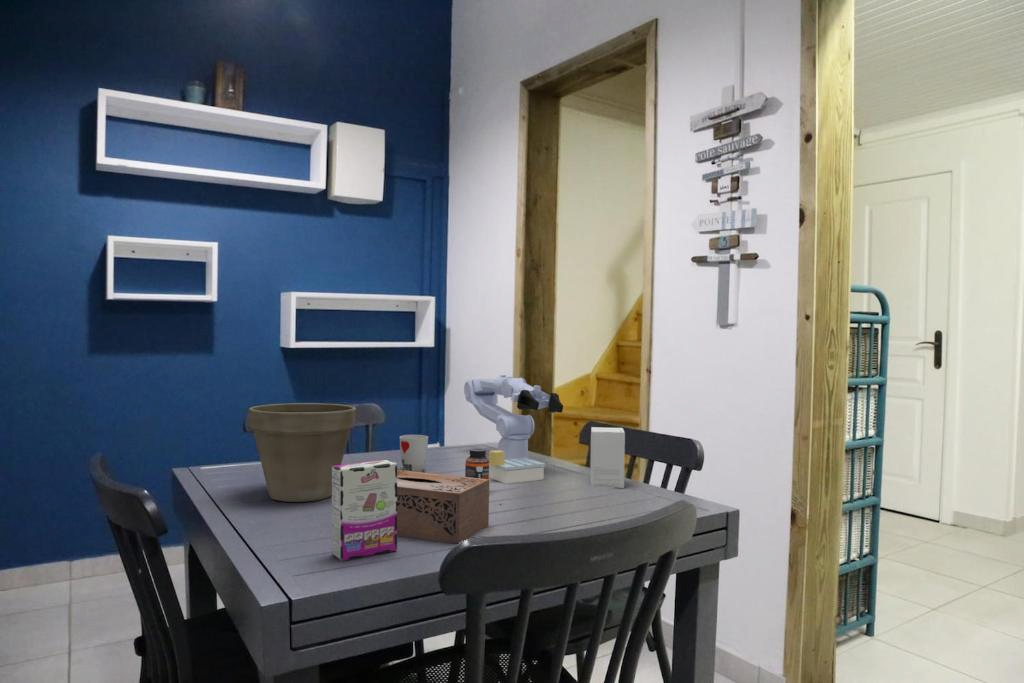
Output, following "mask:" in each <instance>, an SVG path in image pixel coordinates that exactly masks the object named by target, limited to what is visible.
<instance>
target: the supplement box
mask: <svg viewBox="0 0 1024 683" xmlns="http://www.w3.org/2000/svg"><path fill="white" fill-rule="evenodd" d="M590 428H591V429H590V470H589V472H590V474H589V475H590V477H589V478H590V486H608V487H613V488H616V489H617V488H619V489H624V488H625V466H626V465H625V464H626V463H625V461H626V458H625V454H626V447H625V446H626V433H625V430H624V428H623V427H601V426H599V427H598V426H596V427H595V426H591V427H590Z"/></svg>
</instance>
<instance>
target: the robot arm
mask: <svg viewBox="0 0 1024 683" xmlns="http://www.w3.org/2000/svg"><path fill="white" fill-rule="evenodd" d="M463 387H464V388H463V391H464V392H463V393H464V397H465V401H466V402H468V403H470V404H472V405H473V407H474V408H475V410H476V411H477V413H478V414H479V415H480V416H482V417H483V418H485V419H486V420H488V421H490V422H491V423H493V424H495V427H496V428H495V429H496V431H497V432H498V433H499V435H500V436H501V438H500V440H498V444H497V450H500V451H503V452H505V459H504V460H506V459H507V458H508V459H515V458H529V457H528V455H529V450H528V449H529V439H531V436H532V435H533V433H534V431H535V420H534V417H532V415H531V414H527V415H523V414H516V413H513V412H511V411H509V410H507V409H505V408H503V407H501V406H499V405H498V404H499V402H498V395H499V396H503V398H504V399H507V398H510V400H511V401H512V402H513V403H517V405H516V407H517V409H518V410H521V411H522V410H523V411H525V410H526V411H527V410H531V411H538V410H541V409H544V408H547V407H548V409H547V413H551V414H552V413H563V411H564V405H563V404H562V402H561V400H560V395H559V394H558V393H556V392H550V395H549V394H548V393H546V392H544V391H542V390H541V389H542V387H541V386H540V385H533V386H532V385H531V384H528V383H527V381H526V379H525V378H523V377H513V376H512V375H509V376H507V375H506V374H501V375H500V376H497V377H496V378H477V379H470V380H469V379H467V381H465V384H464V386H463Z"/></svg>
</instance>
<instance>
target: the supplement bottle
mask: <svg viewBox="0 0 1024 683" xmlns="http://www.w3.org/2000/svg"><path fill="white" fill-rule="evenodd" d="M486 454H487V450H486V449H485V448H478V447H477V448H470V449H469V456H468V457H467V458H466V459H465V467H464V468H465V470H464V473H465V474H464V477H470V478H480V479H489V480H490V478H489V457H487V456H486Z"/></svg>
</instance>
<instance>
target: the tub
mask: <svg viewBox="0 0 1024 683" xmlns="http://www.w3.org/2000/svg"><path fill="white" fill-rule="evenodd" d="M544 470H545V466H544V467H535V468H526V469H517V470H507V471H506V470H503V469H500V468H497V467H494V466H491V465H489V479H491V480H494V481H497V482H500V483H503V484H505V485H508V484H517V483H519V484H520V483H527V482H534V481H535V482H536V481H543V480H544V477H545V476H544V475H545V474H544V472H545V471H544Z"/></svg>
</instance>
